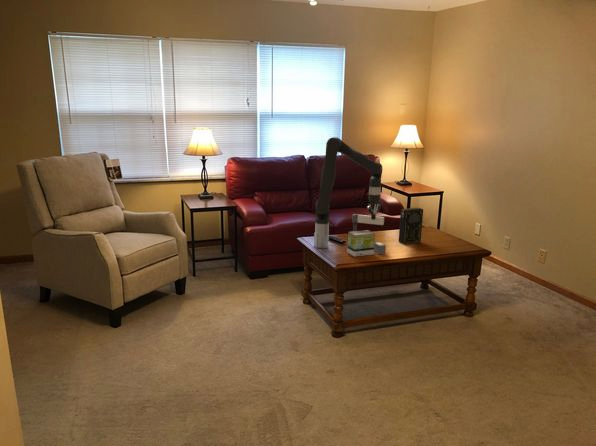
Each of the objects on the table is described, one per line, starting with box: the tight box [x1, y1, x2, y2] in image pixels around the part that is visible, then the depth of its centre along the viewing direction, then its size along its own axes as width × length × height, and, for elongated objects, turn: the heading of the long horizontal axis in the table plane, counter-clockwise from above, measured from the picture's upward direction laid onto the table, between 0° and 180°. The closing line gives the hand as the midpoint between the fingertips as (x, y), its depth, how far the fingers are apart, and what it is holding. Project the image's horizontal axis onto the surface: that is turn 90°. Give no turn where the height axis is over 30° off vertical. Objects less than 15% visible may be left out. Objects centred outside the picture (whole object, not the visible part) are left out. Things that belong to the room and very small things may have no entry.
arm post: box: [352, 222, 358, 231], centre depth 315 cm, size 6×6×18 cm
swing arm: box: [351, 213, 385, 226], centre depth 309 cm, size 4×21×5 cm, turn 70°
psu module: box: [374, 241, 387, 255], centre depth 309 cm, size 5×8×6 cm, turn 17°
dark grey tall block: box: [398, 207, 424, 245], centre depth 330 cm, size 16×9×25 cm, turn 113°
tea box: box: [346, 229, 376, 258], centre depth 305 cm, size 15×10×15 cm, turn 114°
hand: (373, 219), depth 305 cm, fingers closed
